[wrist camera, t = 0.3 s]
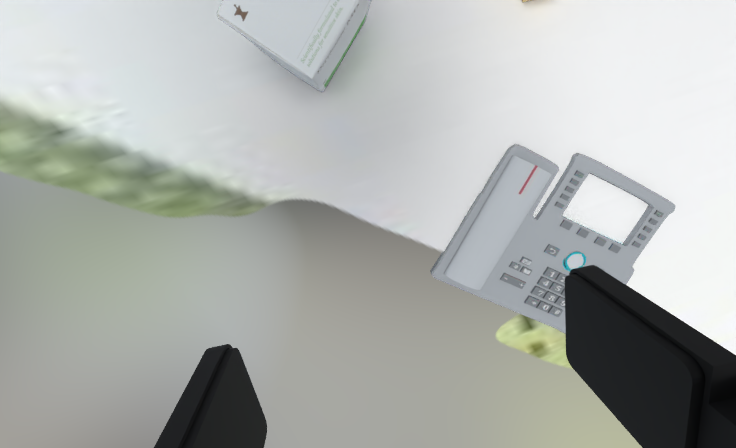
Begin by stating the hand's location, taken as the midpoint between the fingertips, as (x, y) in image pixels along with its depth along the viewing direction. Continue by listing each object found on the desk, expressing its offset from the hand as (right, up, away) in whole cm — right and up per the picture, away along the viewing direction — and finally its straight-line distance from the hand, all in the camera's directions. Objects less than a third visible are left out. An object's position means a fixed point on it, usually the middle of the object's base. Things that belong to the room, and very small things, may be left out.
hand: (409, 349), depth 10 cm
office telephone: (+21, +2, +34) cm, 40 cm away
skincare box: (-6, +22, +24) cm, 33 cm away
